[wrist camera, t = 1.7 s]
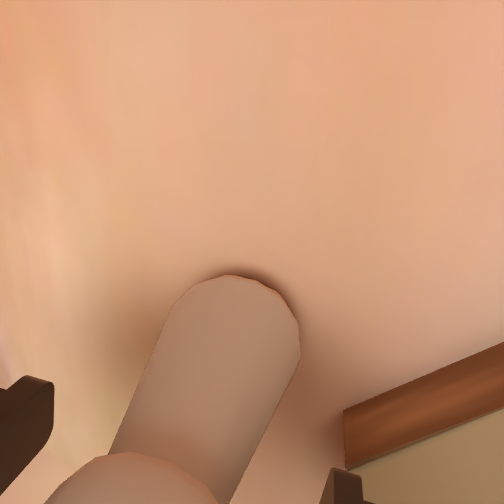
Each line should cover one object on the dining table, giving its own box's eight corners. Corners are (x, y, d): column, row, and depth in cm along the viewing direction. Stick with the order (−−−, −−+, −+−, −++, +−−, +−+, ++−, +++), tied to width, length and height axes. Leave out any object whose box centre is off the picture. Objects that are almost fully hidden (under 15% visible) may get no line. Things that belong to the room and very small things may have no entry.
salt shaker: (244, 390, 21) (115, 767, 9) (163, 311, 20) (-95, 591, 8) (331, 323, 19) (323, 691, 7) (244, 234, 18) (63, 452, 6)
